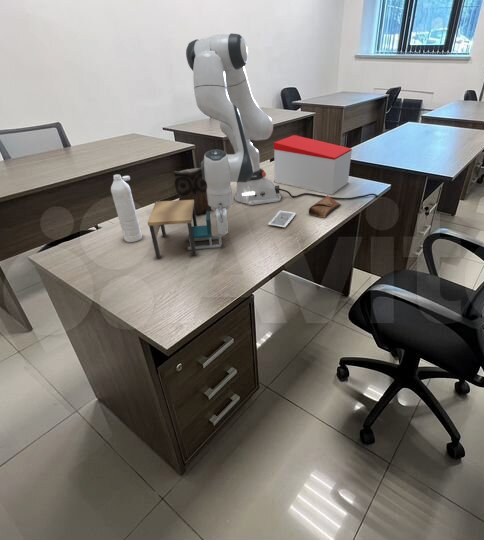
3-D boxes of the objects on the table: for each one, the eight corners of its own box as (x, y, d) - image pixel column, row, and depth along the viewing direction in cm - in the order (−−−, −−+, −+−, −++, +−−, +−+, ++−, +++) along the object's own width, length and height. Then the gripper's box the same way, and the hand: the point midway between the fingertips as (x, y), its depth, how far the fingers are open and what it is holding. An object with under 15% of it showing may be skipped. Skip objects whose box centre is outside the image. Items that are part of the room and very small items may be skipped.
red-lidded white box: (292, 171, 203) (293, 134, 191) (347, 182, 187) (352, 143, 175) (273, 181, 188) (273, 142, 176) (331, 194, 172) (335, 152, 161)
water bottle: (120, 240, 132) (102, 176, 118) (133, 233, 136) (117, 171, 123) (137, 245, 128) (120, 180, 115) (150, 237, 133) (135, 174, 120)
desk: (198, 233, 137) (194, 199, 129) (196, 256, 122) (190, 219, 114) (162, 235, 135) (155, 201, 127) (156, 259, 120) (147, 222, 112)
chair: (221, 237, 134) (219, 210, 127) (222, 247, 127) (219, 219, 121) (189, 239, 132) (184, 212, 126) (187, 250, 125) (183, 221, 119)
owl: (215, 209, 156) (210, 165, 145) (199, 220, 146) (192, 174, 135) (192, 205, 160) (185, 162, 149) (175, 215, 151) (167, 170, 140)
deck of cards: (296, 215, 151) (296, 210, 150) (285, 229, 140) (285, 224, 138) (279, 212, 154) (279, 208, 152) (267, 226, 142) (267, 221, 141)
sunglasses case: (325, 217, 148) (319, 203, 146) (312, 222, 153) (306, 208, 151) (342, 204, 161) (336, 190, 159) (329, 208, 165) (324, 195, 164)
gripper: (230, 209, 113) (233, 246, 120) (228, 188, 130) (230, 221, 137) (210, 211, 112) (215, 247, 119) (211, 189, 129) (214, 222, 136)
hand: (223, 233), depth 128 cm, fingers closed, pressing on chair
